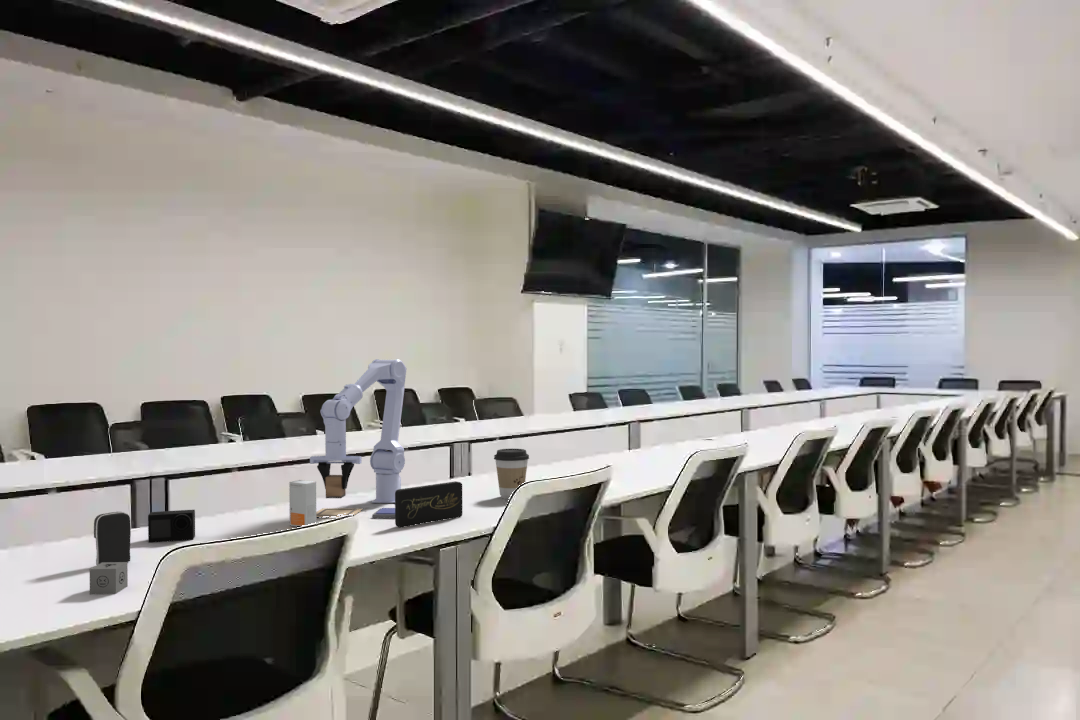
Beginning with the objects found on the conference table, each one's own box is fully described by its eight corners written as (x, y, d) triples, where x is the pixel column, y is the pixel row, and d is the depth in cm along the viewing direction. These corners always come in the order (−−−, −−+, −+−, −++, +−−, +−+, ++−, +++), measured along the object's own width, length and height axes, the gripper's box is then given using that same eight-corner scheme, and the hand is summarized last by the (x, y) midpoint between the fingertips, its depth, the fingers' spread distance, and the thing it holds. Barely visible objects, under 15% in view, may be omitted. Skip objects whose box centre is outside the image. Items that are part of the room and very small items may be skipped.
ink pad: (380, 511, 239) (380, 507, 239) (411, 512, 238) (411, 507, 238) (372, 518, 230) (372, 513, 230) (403, 518, 229) (403, 513, 229)
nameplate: (399, 528, 218) (398, 490, 217) (395, 527, 219) (394, 489, 219) (462, 517, 232) (462, 481, 232) (458, 516, 233) (458, 480, 233)
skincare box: (288, 526, 220) (288, 481, 220) (300, 523, 224) (300, 479, 224) (305, 528, 217) (305, 483, 217) (317, 525, 221) (316, 481, 221)
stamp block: (330, 495, 238) (330, 474, 238) (345, 495, 238) (345, 474, 238) (325, 498, 234) (325, 477, 234) (340, 498, 233) (340, 477, 233)
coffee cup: (514, 502, 253) (514, 453, 253) (486, 498, 260) (486, 450, 260) (536, 496, 262) (536, 449, 262) (509, 492, 269) (509, 447, 269)
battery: (125, 559, 186) (124, 509, 186) (131, 562, 184) (131, 511, 183) (92, 565, 181) (91, 513, 181) (98, 568, 178) (97, 516, 178)
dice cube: (127, 586, 165) (127, 562, 165) (116, 594, 160) (115, 568, 160) (102, 587, 165) (101, 562, 165) (89, 594, 160) (89, 569, 160)
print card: (322, 509, 243) (322, 507, 242) (362, 509, 242) (362, 508, 242) (308, 518, 231) (308, 516, 231) (350, 518, 230) (350, 516, 230)
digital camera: (146, 544, 201) (146, 515, 201) (150, 539, 206) (150, 511, 206) (192, 541, 204) (192, 513, 204) (195, 536, 209) (194, 509, 209)
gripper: (306, 443, 232) (306, 490, 232) (356, 443, 231) (356, 491, 232) (314, 440, 239) (314, 486, 240) (363, 440, 238) (363, 487, 239)
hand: (336, 488), depth 236 cm, fingers closed on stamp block, 4 cm apart
